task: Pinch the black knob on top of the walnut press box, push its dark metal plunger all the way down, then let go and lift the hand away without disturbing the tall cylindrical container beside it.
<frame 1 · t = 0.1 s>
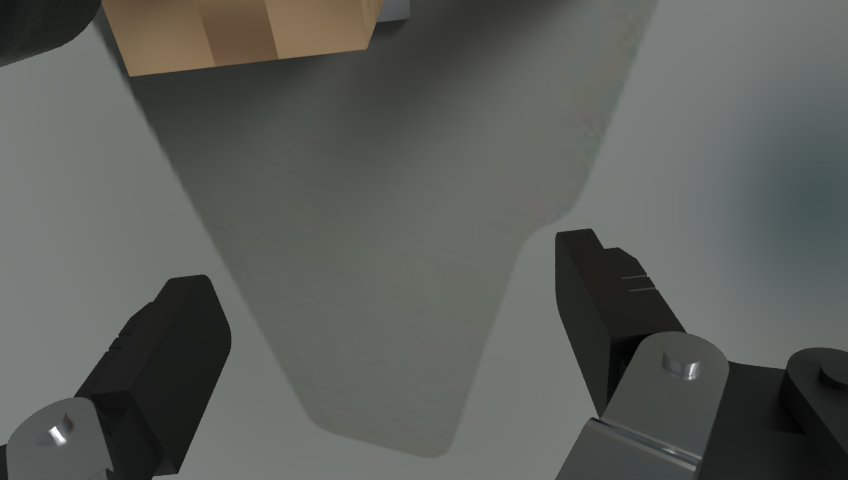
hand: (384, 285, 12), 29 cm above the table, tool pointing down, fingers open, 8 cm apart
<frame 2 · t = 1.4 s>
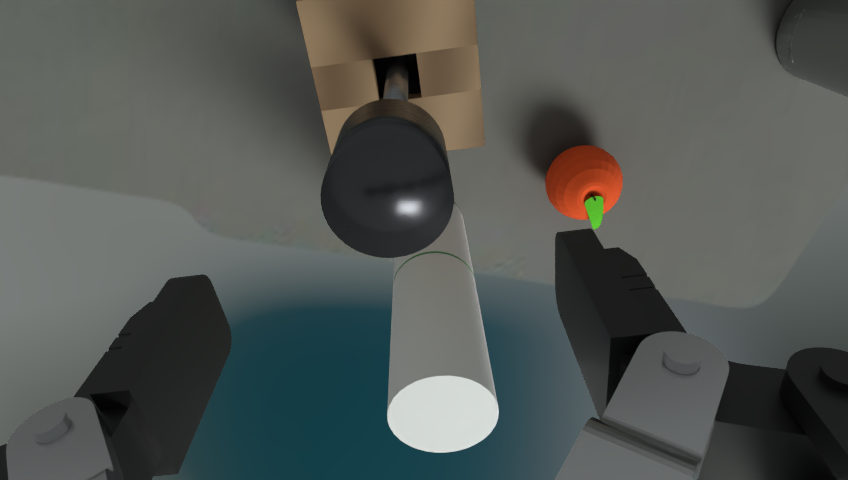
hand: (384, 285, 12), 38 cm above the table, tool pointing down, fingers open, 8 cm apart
plunger: (396, 93, 26), point 22 cm above the table, slide at 8.0 cm
clementine: (573, 171, 53), on the table
cylindrical container: (429, 225, 55), on the table
press box: (401, 23, 45), on the table
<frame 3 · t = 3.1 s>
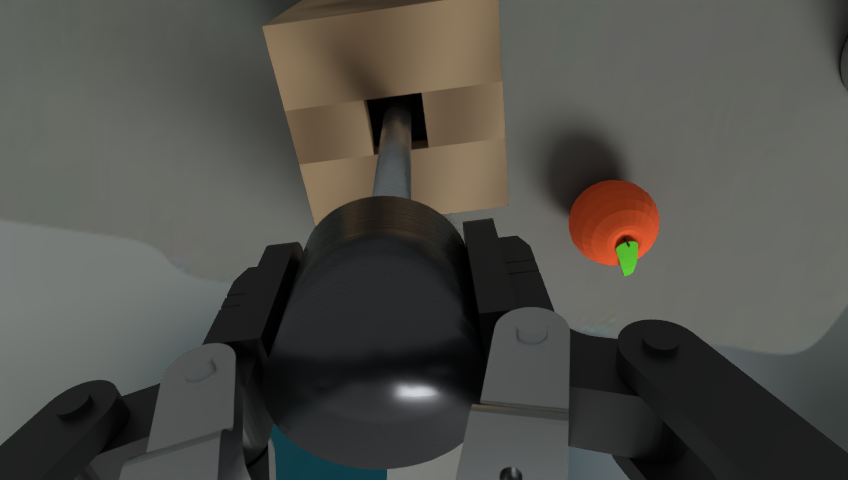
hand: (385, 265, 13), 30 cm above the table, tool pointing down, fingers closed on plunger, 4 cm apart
plunger: (395, 150, 20), point 22 cm above the table, slide at 8.0 cm, touching gripper
clementine: (599, 207, 46), on the table
cylindrical container: (435, 265, 49), on the table
press box: (403, 40, 39), on the table
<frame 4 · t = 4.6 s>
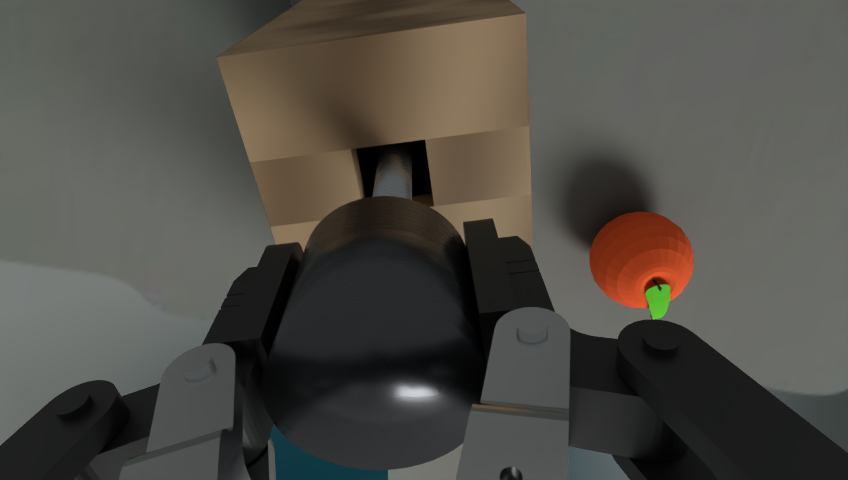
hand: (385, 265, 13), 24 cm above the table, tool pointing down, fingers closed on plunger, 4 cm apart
plunger: (395, 150, 20), point 16 cm above the table, slide at 2.4 cm, touching gripper
clementine: (623, 239, 41), on the table
cylindrical container: (438, 302, 44), on the table
press box: (403, 56, 34), on the table
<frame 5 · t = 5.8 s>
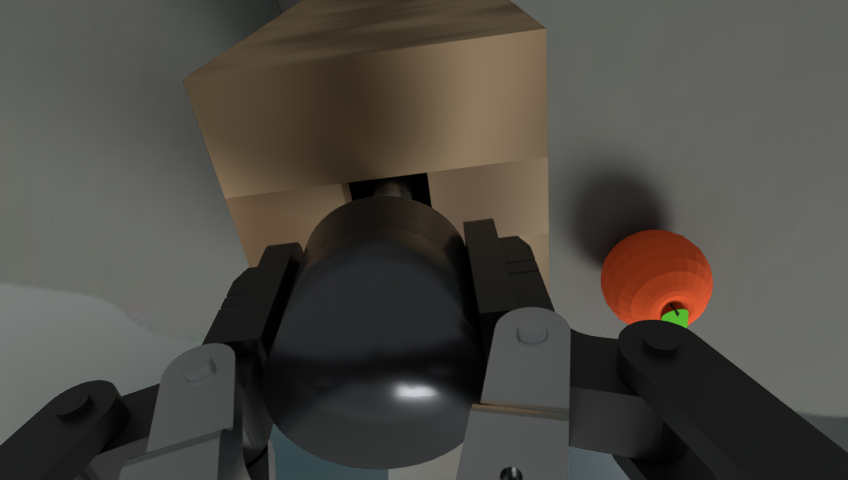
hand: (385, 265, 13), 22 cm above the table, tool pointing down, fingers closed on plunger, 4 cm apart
plunger: (396, 150, 20), point 14 cm above the table, slide at -0.2 cm, touching gripper
clementine: (635, 257, 39), on the table
cylindrical container: (440, 322, 42), on the table
press box: (402, 66, 31), on the table
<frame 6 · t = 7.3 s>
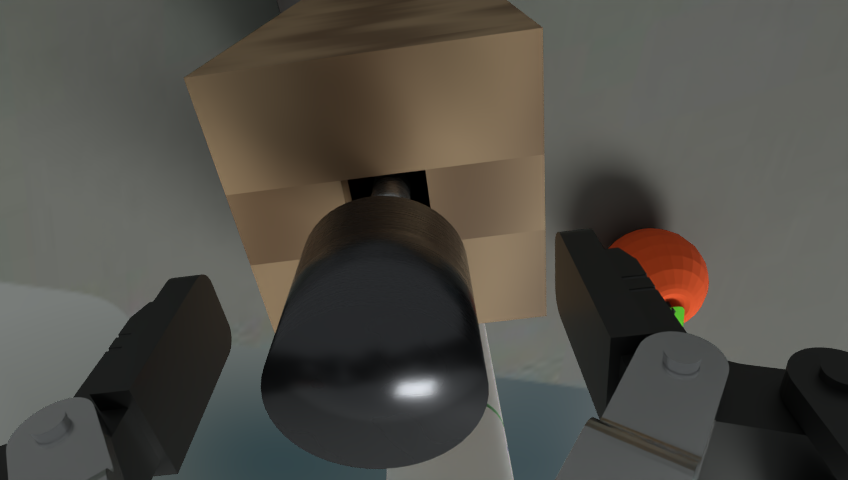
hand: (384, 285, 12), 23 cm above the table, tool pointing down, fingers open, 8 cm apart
plunger: (394, 150, 20), point 14 cm above the table, slide at 0.0 cm
clementine: (632, 256, 39), on the table
cylindrical container: (438, 321, 42), on the table
press box: (400, 65, 32), on the table
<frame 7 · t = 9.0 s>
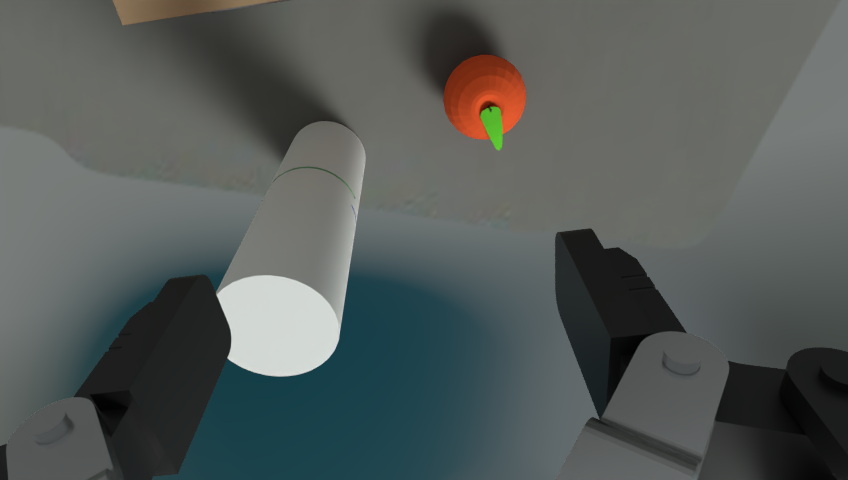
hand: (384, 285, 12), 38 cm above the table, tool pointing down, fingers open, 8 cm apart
clementine: (480, 92, 48), on the table
cylindrical container: (328, 156, 51), on the table
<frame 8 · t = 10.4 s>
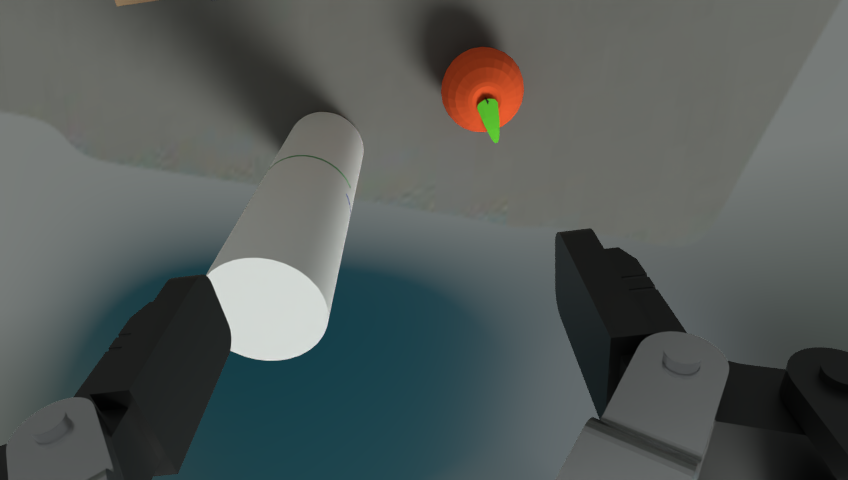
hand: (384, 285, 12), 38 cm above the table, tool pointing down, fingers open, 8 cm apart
clementine: (479, 85, 48), on the table
cylindrical container: (326, 147, 51), on the table
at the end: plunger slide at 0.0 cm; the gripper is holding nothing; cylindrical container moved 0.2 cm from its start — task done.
